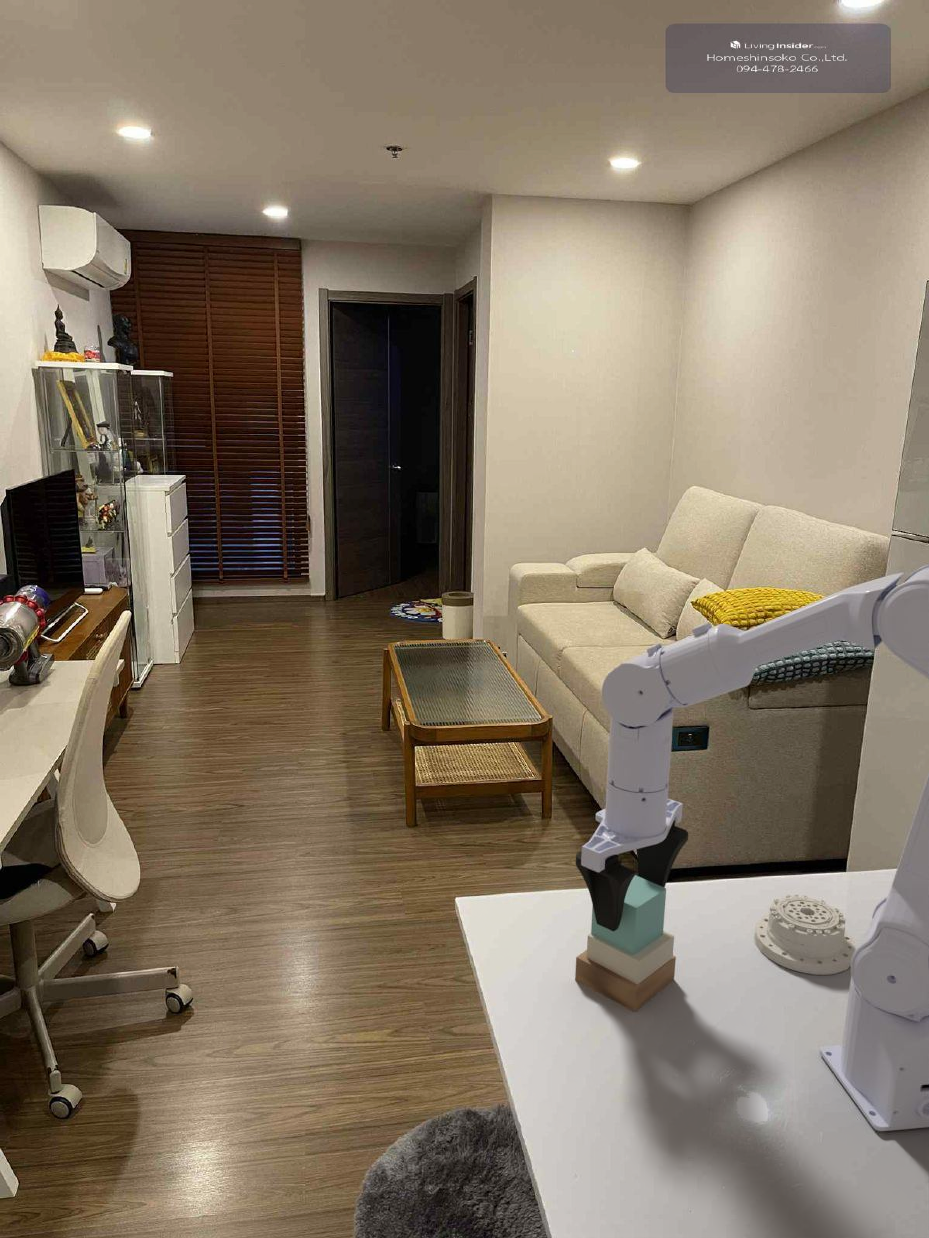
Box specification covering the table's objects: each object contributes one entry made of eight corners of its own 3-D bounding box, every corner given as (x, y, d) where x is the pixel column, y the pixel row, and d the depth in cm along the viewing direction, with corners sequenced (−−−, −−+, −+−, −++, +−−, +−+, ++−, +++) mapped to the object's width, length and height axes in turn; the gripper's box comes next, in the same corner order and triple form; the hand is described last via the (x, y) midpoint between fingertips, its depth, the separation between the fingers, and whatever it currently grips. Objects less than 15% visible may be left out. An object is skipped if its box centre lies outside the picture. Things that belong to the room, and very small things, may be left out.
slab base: (673, 983, 93) (675, 956, 92) (634, 1015, 88) (636, 988, 87) (615, 954, 98) (616, 928, 97) (574, 983, 93) (576, 956, 92)
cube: (662, 934, 92) (666, 888, 91) (633, 955, 88) (636, 907, 87) (620, 914, 95) (623, 869, 94) (591, 933, 92) (593, 887, 90)
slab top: (672, 958, 92) (674, 935, 92) (637, 984, 88) (639, 961, 87) (622, 933, 96) (623, 911, 96) (586, 957, 92) (587, 934, 91)
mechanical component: (770, 976, 94) (869, 978, 94) (774, 937, 93) (874, 939, 93) (743, 921, 104) (833, 923, 104) (746, 885, 103) (837, 888, 103)
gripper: (642, 748, 96) (634, 869, 99) (556, 790, 85) (551, 923, 88) (705, 767, 91) (694, 893, 94) (622, 815, 81) (613, 954, 84)
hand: (629, 910), depth 91 cm, fingers open, 7 cm apart
